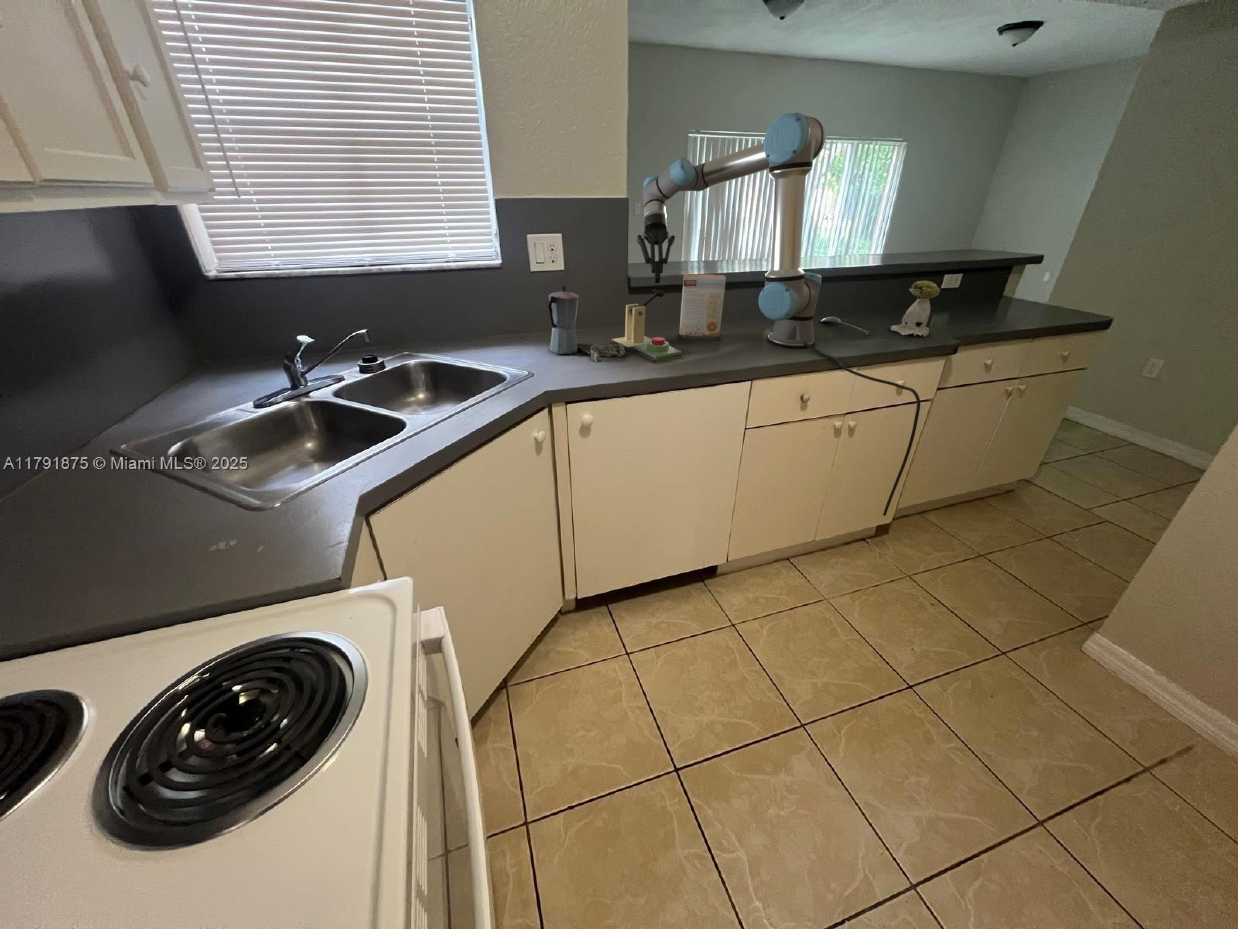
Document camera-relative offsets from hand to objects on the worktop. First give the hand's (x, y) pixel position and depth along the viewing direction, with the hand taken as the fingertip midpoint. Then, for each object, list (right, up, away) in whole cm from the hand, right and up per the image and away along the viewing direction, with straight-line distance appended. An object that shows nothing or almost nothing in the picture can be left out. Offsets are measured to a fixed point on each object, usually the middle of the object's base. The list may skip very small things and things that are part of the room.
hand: (657, 280), depth 159 cm
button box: (0, -26, -5) cm, 26 cm away
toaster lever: (-3, -8, +1) cm, 9 cm away
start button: (0, -22, -6) cm, 23 cm away
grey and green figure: (+97, -10, +25) cm, 101 cm away
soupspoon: (+74, -8, +28) cm, 80 cm away
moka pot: (-30, -24, -3) cm, 39 cm away
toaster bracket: (-7, -20, +5) cm, 22 cm away
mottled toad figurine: (-16, -27, -7) cm, 32 cm away
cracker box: (+16, -15, +14) cm, 26 cm away
